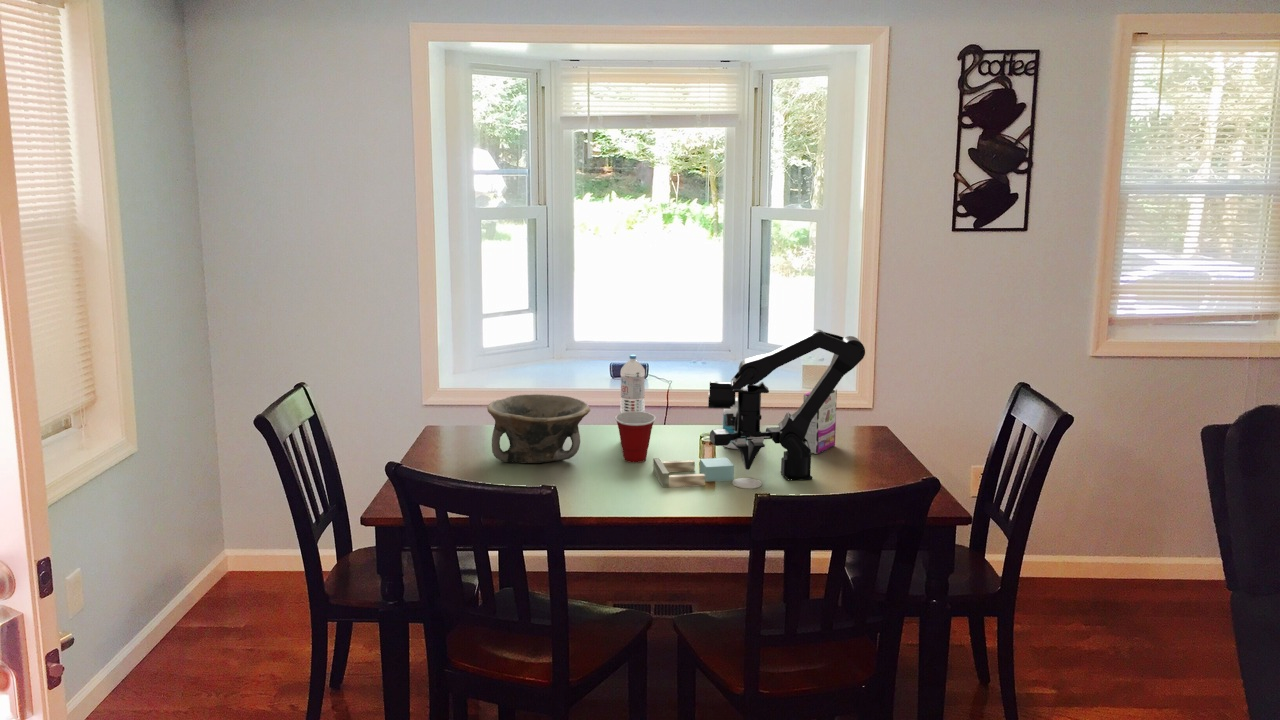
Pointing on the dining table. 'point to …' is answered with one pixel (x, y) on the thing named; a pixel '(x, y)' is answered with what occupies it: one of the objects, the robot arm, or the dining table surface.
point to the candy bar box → (823, 425)
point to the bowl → (536, 427)
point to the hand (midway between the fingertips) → (747, 469)
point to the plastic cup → (635, 434)
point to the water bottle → (632, 386)
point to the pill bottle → (729, 428)
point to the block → (717, 469)
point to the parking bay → (668, 480)
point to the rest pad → (746, 483)
